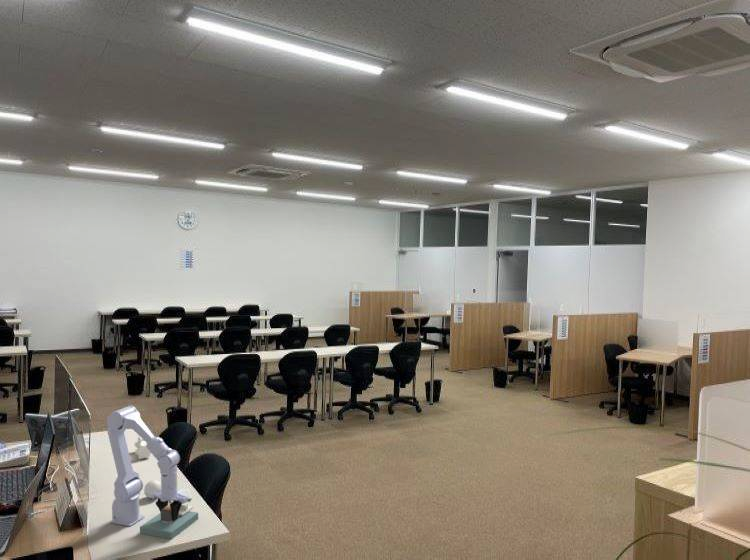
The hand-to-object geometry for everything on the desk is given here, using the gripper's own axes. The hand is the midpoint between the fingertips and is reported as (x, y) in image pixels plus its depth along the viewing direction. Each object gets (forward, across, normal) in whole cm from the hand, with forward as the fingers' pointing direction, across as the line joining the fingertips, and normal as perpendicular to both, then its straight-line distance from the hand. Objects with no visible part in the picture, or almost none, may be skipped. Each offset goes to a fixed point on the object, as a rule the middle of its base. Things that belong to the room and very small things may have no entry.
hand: (169, 518), depth 207 cm
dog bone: (+3, -62, +59) cm, 86 cm away
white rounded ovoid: (+3, -23, +20) cm, 31 cm away
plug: (+2, 0, 0) cm, 2 cm away
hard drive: (+4, -13, +23) cm, 26 cm away
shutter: (0, 0, +7) cm, 7 cm away
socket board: (+3, 0, 0) cm, 3 cm away
